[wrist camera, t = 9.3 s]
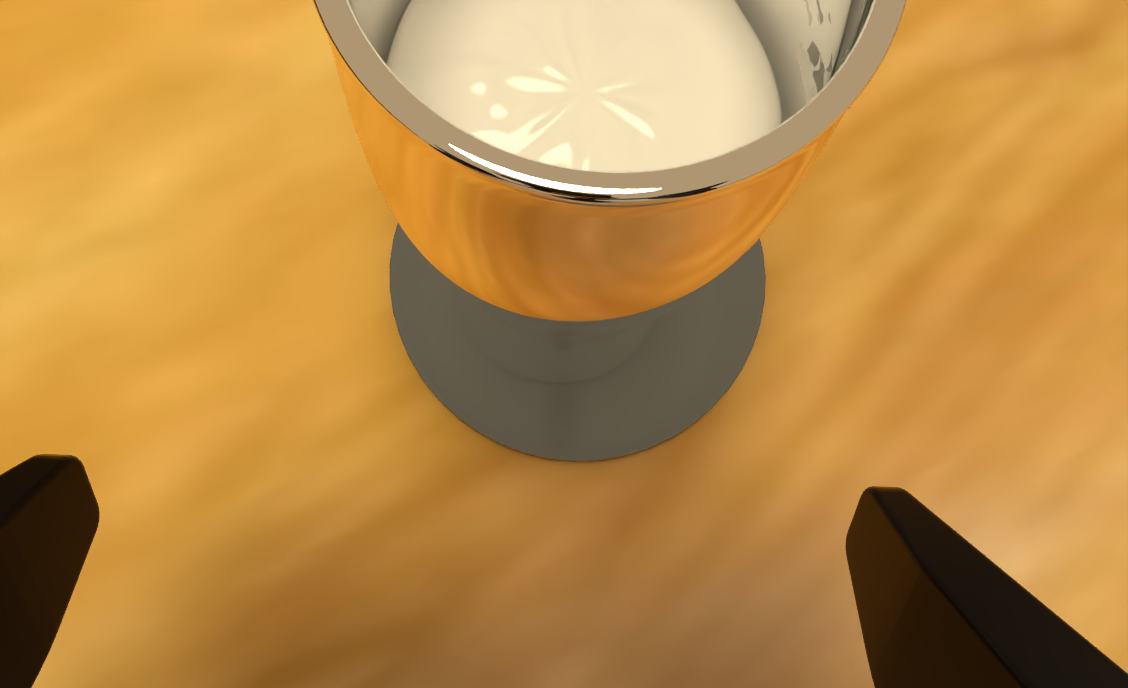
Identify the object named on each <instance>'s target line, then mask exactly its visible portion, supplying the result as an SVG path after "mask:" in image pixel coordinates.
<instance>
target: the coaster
mask: <svg viewBox="0 0 1128 688" xmlns="http://www.w3.org/2000/svg"><path fill="white" fill-rule="evenodd" d="M390 292H391V300H392V307H393V313H394V317H395V320H396V324H397V327H398V331H399V334H400V337H401V339H402V342H403V344H404V346H405V349H406V351H407V353H408V355H409V358H410V360H411V361H412V363H413V364H414V366H415V368H416V369H417V371H418V373H419V374H420V376H421V378H422V379H423V381H424V382H425V383H426V384H427V386H428V387H429V388H430V389H431V390H432V392H433V393H434V394H435V395H436V397H437V398H438V399H439V400H440V401H441V402H442V403H443V404H444V405H445V406H446V407H447V408H448V409H449V410H450V411H451V412H452V413H453V414H455V415H456V416H457V417H458V418H459V419H460V420H462V421H463V422H464V423H466V424H467V425H469V426H470V427H471V428H473V429H474V430H475V431H477V432H478V433H480V434H482V435H484V436H486V437H487V438H489V439H491V440H493V441H495V442H497V443H499V444H501V445H503V446H506V447H508V448H511V449H514V450H516V451H519V452H522V453H524V454H529V455H533V456H537V457H542V458H546V459H552V460H563V461H574V462H575V461H599V460H605V459H611V458H616V457H622V456H626V455H629V454H632V453H635V452H639V451H642V450H645V449H648V448H651V447H653V446H655V445H657V444H659V443H661V442H663V441H665V440H668V439H670V438H672V437H674V436H675V435H677V434H678V433H680V432H681V431H683V430H684V429H686V428H688V427H689V426H691V425H692V424H694V423H695V422H696V421H697V420H698V419H700V418H701V417H702V416H703V415H704V414H705V413H707V412H708V411H709V410H710V409H711V408H712V407H713V406H714V405H715V404H716V403H717V402H718V401H719V400H720V398H721V397H722V396H723V395H724V394H725V393H726V392H727V390H728V389H729V388H730V387H731V385H732V384H733V382H734V381H735V379H736V377H737V376H738V374H739V373H740V371H741V370H742V368H743V366H744V364H745V362H746V360H747V358H748V356H749V354H750V352H751V350H752V348H753V345H754V342H755V339H756V336H757V333H758V330H759V326H760V323H761V317H762V312H763V306H764V299H765V267H764V256H763V250H762V246H761V242H760V238H759V239H758V240H757V241H756V243H755V244H754V245H753V246H752V247H751V248H750V249H749V250H748V251H747V252H746V253H745V254H744V255H743V256H742V257H741V258H740V259H739V260H738V261H737V262H736V263H735V264H734V265H732V266H731V267H730V268H729V269H728V270H727V271H726V272H725V273H724V274H723V275H722V276H721V277H720V278H719V279H718V280H716V281H715V282H714V283H713V284H712V285H711V286H709V287H708V288H707V289H706V290H704V291H703V292H702V293H700V294H699V295H698V296H696V297H694V298H693V299H691V300H690V301H688V302H686V303H685V304H683V305H681V306H679V307H678V308H676V309H674V310H672V311H670V312H668V313H666V314H664V315H663V316H661V317H659V318H657V320H656V322H655V324H654V326H653V328H652V330H651V332H650V334H649V335H648V337H647V338H646V340H645V341H644V342H643V344H642V345H641V346H640V347H639V349H638V350H637V351H636V352H635V353H634V354H633V355H632V356H631V357H630V358H628V359H627V360H626V361H625V362H623V363H622V364H621V365H619V366H618V367H616V368H614V369H613V370H611V371H609V372H607V373H605V374H603V375H601V376H598V377H595V378H592V379H589V380H585V381H581V382H575V383H565V384H554V383H544V382H538V381H534V380H530V379H526V378H523V377H521V376H518V375H516V374H514V373H512V372H510V371H508V370H506V369H504V368H503V367H501V366H499V365H498V364H496V363H495V362H494V361H493V360H491V359H490V358H489V357H488V356H487V355H486V354H485V353H484V352H483V351H482V350H481V349H480V348H479V347H478V345H477V344H476V343H475V342H474V340H473V339H472V338H471V336H470V335H469V333H468V332H467V330H466V328H465V326H464V325H463V322H462V320H461V318H460V316H459V313H458V310H457V306H456V302H455V297H454V289H452V288H451V287H450V286H449V285H448V284H447V283H446V282H445V281H444V280H443V279H442V278H441V277H440V276H439V275H438V274H437V273H436V272H435V271H434V270H433V269H432V268H431V267H430V266H429V265H428V264H427V263H426V262H425V260H424V259H423V258H422V257H421V256H420V255H419V253H418V252H417V251H416V249H415V248H414V247H413V245H412V244H411V243H410V241H409V239H408V238H407V236H406V235H405V233H404V231H403V230H402V228H401V226H400V225H399V223H398V224H397V228H396V232H395V235H394V239H393V245H392V252H391V259H390Z"/></svg>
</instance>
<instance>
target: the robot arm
mask: <svg viewBox="0 0 1128 688" xmlns="http://www.w3.org/2000/svg"><path fill="white" fill-rule="evenodd" d="M98 523H99V507H98V503H97V500H96V498H95V495H94V492H93V490H92V487H91V484H90V482H89V479H88V476H87V474H86V471H85V469H84V466H83V464H82V462H81V461H80V460H79V459H78V458H77V457H75V456H72V455H53V454H41V455H36V456H33V457H31V458H29V459H27V460H26V461H24V462H22V463H20V464H19V465H17V466H15V467H13V468H12V469H10V470H8V471H6V472H5V473H3V474H1V475H0V688H31V687H32V685H33V683H34V681H35V680H36V678H37V676H38V674H39V672H40V670H41V668H42V665H43V663H44V661H45V659H46V657H47V655H48V653H49V651H50V649H51V646H52V644H53V641H54V639H55V637H56V634H57V632H58V629H59V627H60V624H61V622H62V619H63V616H64V614H65V611H66V609H67V606H68V603H69V601H70V598H71V596H72V593H73V590H74V588H75V585H76V583H77V580H78V577H79V575H80V572H81V570H82V567H83V564H84V562H85V559H86V557H87V554H88V551H89V549H90V546H91V544H92V541H93V538H94V536H95V533H96V531H97V527H98ZM846 555H847V560H848V565H849V570H850V575H851V580H852V585H853V590H854V595H855V600H856V605H857V609H858V614H859V619H860V624H861V629H862V634H863V639H864V644H865V649H866V654H867V658H868V662H869V667H870V671H871V675H872V679H873V682H874V686H875V688H1128V673H1126V672H1125V671H1124V670H1123V669H1121V668H1120V667H1119V666H1118V665H1117V664H1115V663H1114V662H1113V661H1112V660H1111V659H1109V658H1108V657H1107V656H1106V655H1105V654H1103V653H1102V652H1101V651H1100V650H1098V649H1097V648H1096V647H1095V646H1094V645H1092V644H1091V643H1090V642H1089V641H1088V640H1086V639H1085V638H1084V637H1083V636H1082V635H1080V634H1079V633H1078V632H1077V631H1076V630H1074V629H1073V628H1072V627H1071V626H1069V625H1068V624H1067V623H1066V622H1065V621H1063V620H1062V619H1061V618H1060V617H1059V616H1057V615H1056V614H1055V613H1054V612H1053V611H1051V610H1050V609H1049V608H1048V607H1046V606H1045V605H1044V604H1043V603H1042V602H1040V601H1039V600H1038V599H1037V598H1036V597H1034V596H1033V595H1032V594H1031V593H1030V592H1028V591H1027V590H1026V589H1025V588H1024V587H1022V586H1021V585H1020V584H1019V583H1017V582H1016V581H1015V580H1014V579H1013V578H1011V577H1010V576H1009V575H1008V574H1007V573H1005V572H1004V571H1003V570H1002V569H1001V568H999V567H998V566H997V565H996V564H994V563H993V562H992V561H991V560H990V559H988V558H987V557H986V556H985V555H984V554H982V553H981V552H980V551H979V550H978V549H976V548H975V547H974V546H973V545H972V544H970V543H969V542H968V541H967V540H965V539H964V538H963V537H962V536H961V535H959V534H958V533H957V532H956V531H955V530H953V529H952V528H951V527H950V526H949V525H947V524H946V523H945V522H944V521H942V520H941V519H940V518H939V517H938V516H936V515H935V514H934V513H933V512H932V511H930V510H929V509H928V508H927V507H926V506H924V505H923V504H922V503H921V502H920V501H918V500H917V499H916V498H915V497H913V496H912V495H911V494H910V493H909V492H907V491H906V490H904V489H902V488H897V487H875V486H873V487H868V488H867V489H865V491H864V492H863V493H862V495H861V498H860V500H859V503H858V506H857V508H856V511H855V514H854V517H853V519H852V522H851V525H850V527H849V530H848V533H847V537H846Z"/></svg>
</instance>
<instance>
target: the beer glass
mask: <svg viewBox="0 0 1128 688" xmlns="http://www.w3.org/2000/svg"><path fill="white" fill-rule="evenodd" d="M313 2H314V5H315V8H316V10H317V13H318V16H319V18H320V20H321V23H322V25H323V27H324V29H325V31H326V33H327V35H328V38H329V42H330V45H331V49H332V53H333V57H334V60H335V64H336V68H337V72H338V75H339V79H340V82H341V86H342V89H343V92H344V95H345V99H346V102H347V105H348V108H349V112H350V115H351V118H352V121H353V124H354V127H355V131H356V133H357V136H358V139H359V141H360V144H361V146H362V149H363V151H364V154H365V156H366V159H367V161H368V163H369V166H370V168H371V171H372V173H373V176H374V178H375V181H376V183H377V185H378V187H379V190H380V191H381V193H382V195H383V197H384V199H385V201H386V203H387V204H388V206H389V208H390V209H391V211H392V213H393V214H394V216H395V218H396V220H397V221H398V223H399V225H400V226H401V228H402V230H403V231H404V233H405V235H406V236H407V238H408V239H409V241H410V243H411V244H412V245H413V247H414V248H415V249H416V251H417V252H418V253H419V255H420V256H421V257H422V258H423V259H424V260H425V262H426V263H427V264H428V265H429V266H430V267H431V268H432V269H433V270H434V271H435V272H436V273H437V274H438V275H439V276H440V277H441V278H442V279H443V280H444V281H445V282H446V283H447V284H448V285H449V286H450V287H451V288H452V289H454V297H455V302H456V306H457V310H458V313H459V316H460V318H461V320H462V322H463V325H464V326H465V328H466V330H467V332H468V333H469V335H470V336H471V338H472V339H473V340H474V342H475V343H476V344H477V345H478V347H479V348H480V349H481V350H482V351H483V352H484V353H485V354H486V355H487V356H488V357H489V358H490V359H491V360H493V361H494V362H495V363H496V364H498V365H499V366H501V367H503V368H504V369H506V370H508V371H510V372H512V373H514V374H516V375H518V376H521V377H523V378H526V379H530V380H534V381H538V382H544V383H554V384H565V383H575V382H581V381H585V380H589V379H592V378H595V377H598V376H601V375H603V374H605V373H607V372H609V371H611V370H613V369H614V368H616V367H618V366H619V365H621V364H622V363H623V362H625V361H626V360H627V359H628V358H630V357H631V356H632V355H633V354H634V353H635V352H636V351H637V350H638V349H639V347H640V346H641V345H642V344H643V342H644V341H645V340H646V338H647V337H648V335H649V334H650V332H651V330H652V328H653V326H654V324H655V322H656V320H657V318H659V317H661V316H663V315H664V314H666V313H668V312H670V311H672V310H674V309H676V308H678V307H679V306H681V305H683V304H685V303H686V302H688V301H690V300H691V299H693V298H694V297H696V296H698V295H699V294H700V293H702V292H703V291H704V290H706V289H707V288H708V287H709V286H711V285H712V284H713V283H714V282H715V281H716V280H718V279H719V278H720V277H721V276H722V275H723V274H724V273H725V272H726V271H727V270H728V269H729V268H730V267H731V266H732V265H734V264H735V263H736V262H737V261H738V260H739V259H740V258H741V257H742V256H743V255H744V254H745V253H746V252H747V251H748V250H749V249H750V248H751V247H752V246H753V245H754V244H755V243H756V241H757V240H758V239H759V238H760V237H761V235H762V234H763V233H764V232H765V230H766V229H767V228H768V227H769V225H770V224H771V223H772V222H773V220H774V219H775V218H776V216H777V215H778V214H779V213H780V211H781V210H782V209H783V207H784V206H785V205H786V204H787V202H788V201H789V200H790V198H791V197H792V196H793V194H794V193H795V191H796V190H797V188H798V187H799V185H800V184H801V182H802V181H803V179H804V177H805V176H806V174H807V173H808V171H809V170H810V168H811V167H812V165H813V164H814V162H815V161H816V159H817V158H818V156H819V154H820V153H821V151H822V150H823V148H824V147H825V145H826V143H827V142H828V140H829V138H830V137H831V135H832V133H833V132H834V130H835V128H836V127H837V125H838V123H839V122H840V120H841V118H842V117H843V115H844V113H845V112H846V111H847V110H848V109H849V108H850V107H851V105H852V104H853V103H854V102H855V101H856V99H857V98H858V97H859V96H860V95H861V93H862V92H863V91H864V89H865V88H866V87H867V85H868V84H869V82H870V81H871V79H872V78H873V76H874V75H875V73H876V72H877V70H878V68H879V67H880V65H881V63H882V61H883V60H884V58H885V56H886V54H887V52H888V50H889V48H890V46H891V43H892V41H893V39H894V36H895V34H896V32H897V29H898V26H899V23H900V21H901V18H902V14H903V11H904V8H905V5H906V0H313Z"/></svg>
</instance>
